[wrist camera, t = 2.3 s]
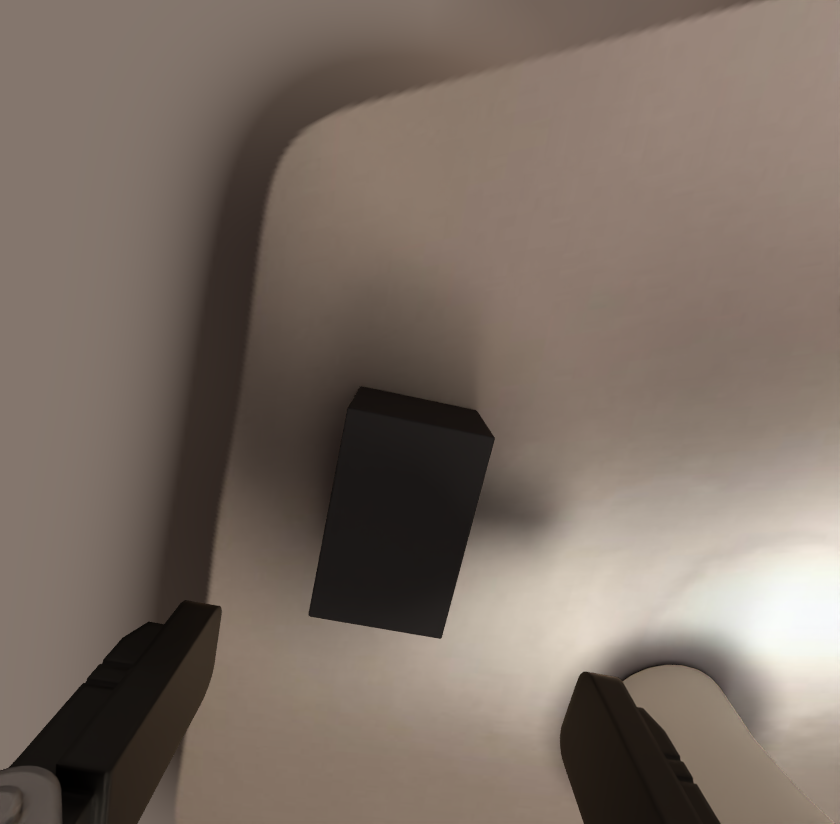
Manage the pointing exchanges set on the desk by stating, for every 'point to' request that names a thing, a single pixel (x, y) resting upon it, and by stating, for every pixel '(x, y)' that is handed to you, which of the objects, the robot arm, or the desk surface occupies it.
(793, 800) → the cup
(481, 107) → the desk surface
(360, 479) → the black block
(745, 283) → the desk surface
